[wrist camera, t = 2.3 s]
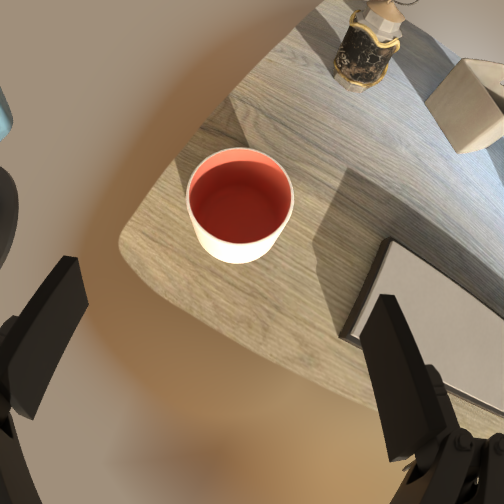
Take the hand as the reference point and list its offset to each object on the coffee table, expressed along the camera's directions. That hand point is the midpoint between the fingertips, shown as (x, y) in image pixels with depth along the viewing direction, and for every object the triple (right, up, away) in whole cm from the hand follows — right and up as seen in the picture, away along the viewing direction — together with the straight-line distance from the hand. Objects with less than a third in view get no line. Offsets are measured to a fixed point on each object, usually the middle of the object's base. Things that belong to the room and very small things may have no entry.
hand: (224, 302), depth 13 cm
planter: (+38, +23, +32) cm, 55 cm away
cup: (-1, +5, +25) cm, 26 cm away
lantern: (+18, +31, +32) cm, 48 cm away
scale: (+32, -12, +24) cm, 42 cm away
